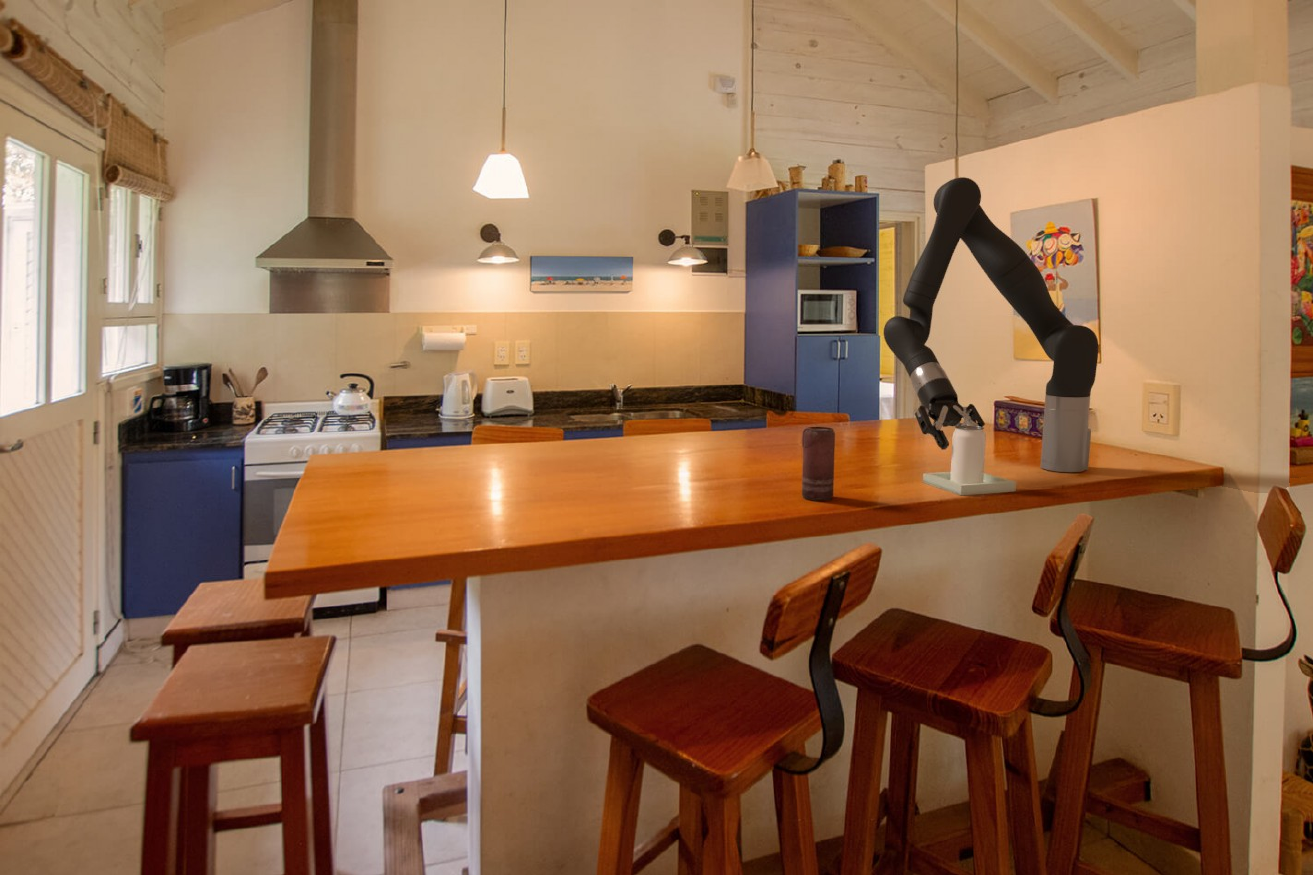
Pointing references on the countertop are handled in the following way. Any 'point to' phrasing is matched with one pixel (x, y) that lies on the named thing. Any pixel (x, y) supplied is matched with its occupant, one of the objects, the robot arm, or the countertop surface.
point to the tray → (988, 486)
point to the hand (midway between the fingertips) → (963, 446)
